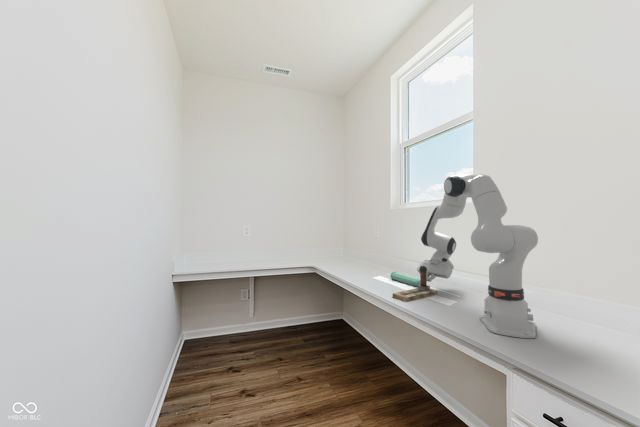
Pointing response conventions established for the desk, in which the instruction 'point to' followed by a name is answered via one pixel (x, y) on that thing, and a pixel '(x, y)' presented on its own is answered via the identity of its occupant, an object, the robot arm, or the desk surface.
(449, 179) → the robot arm
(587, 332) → the desk surface
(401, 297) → the wooden base board
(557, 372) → the desk surface
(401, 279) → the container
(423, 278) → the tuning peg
